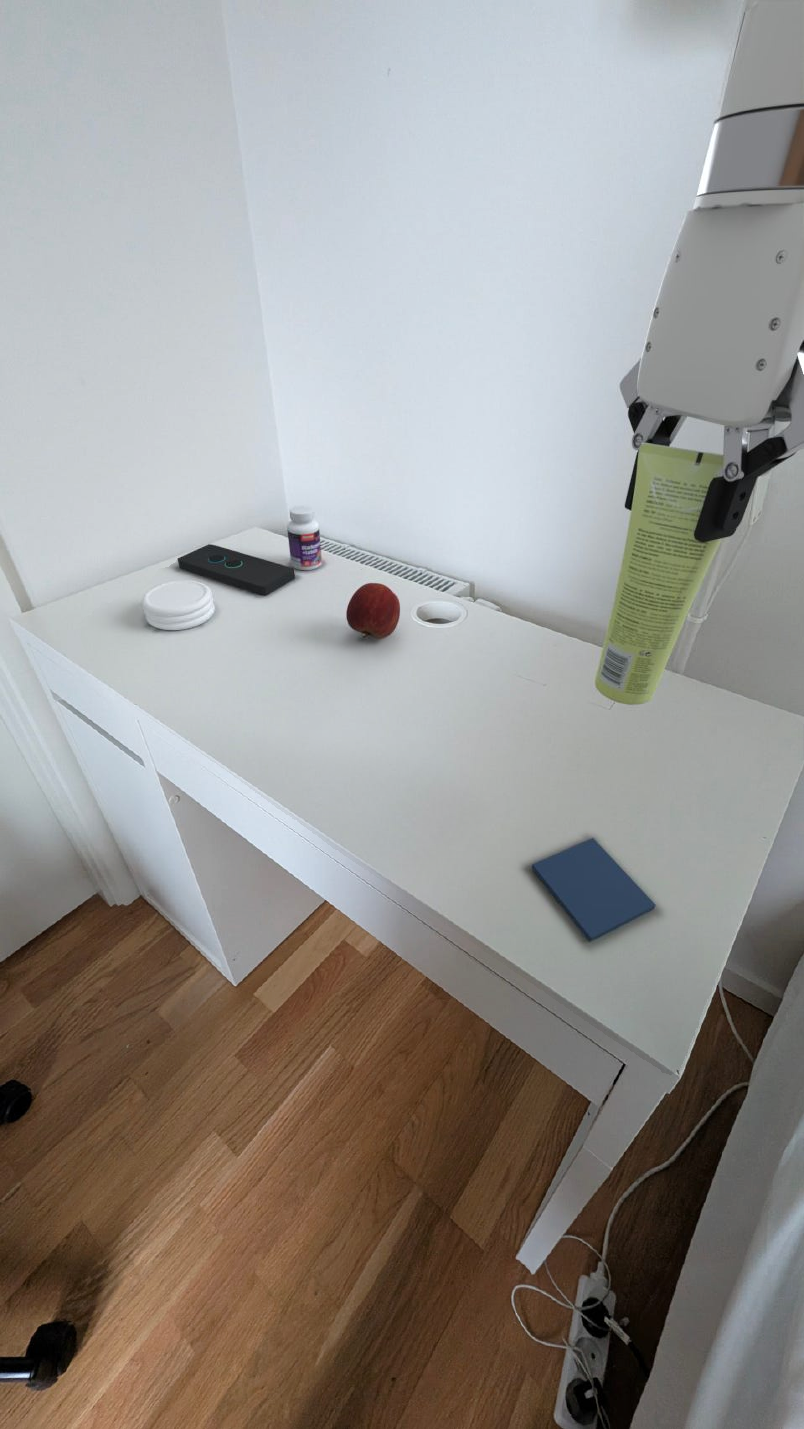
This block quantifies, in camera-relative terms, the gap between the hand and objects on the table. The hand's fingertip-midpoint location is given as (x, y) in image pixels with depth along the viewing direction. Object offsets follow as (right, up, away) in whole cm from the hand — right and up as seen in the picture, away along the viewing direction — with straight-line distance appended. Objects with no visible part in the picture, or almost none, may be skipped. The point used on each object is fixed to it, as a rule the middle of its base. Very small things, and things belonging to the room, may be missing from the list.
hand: (676, 519), depth 41 cm
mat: (-3, -29, +10) cm, 31 cm away
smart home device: (-48, +11, +59) cm, 76 cm away
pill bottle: (-36, +13, +62) cm, 72 cm away
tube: (0, -12, +9) cm, 15 cm away
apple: (-23, -2, +43) cm, 49 cm away
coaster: (-53, +1, +47) cm, 71 cm away
